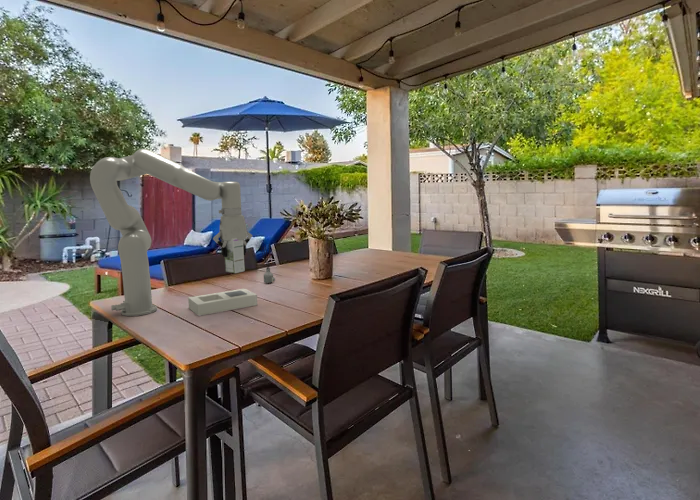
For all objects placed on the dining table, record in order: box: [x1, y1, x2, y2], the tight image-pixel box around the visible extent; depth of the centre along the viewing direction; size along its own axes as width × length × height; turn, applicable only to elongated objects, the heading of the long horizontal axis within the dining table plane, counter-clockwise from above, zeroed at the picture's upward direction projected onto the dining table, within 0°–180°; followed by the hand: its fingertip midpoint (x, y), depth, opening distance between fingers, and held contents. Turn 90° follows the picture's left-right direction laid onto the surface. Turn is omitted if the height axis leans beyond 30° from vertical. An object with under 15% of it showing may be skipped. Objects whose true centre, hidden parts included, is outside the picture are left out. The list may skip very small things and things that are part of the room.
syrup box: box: [224, 238, 245, 274], centre depth 170 cm, size 6×6×14 cm
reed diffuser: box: [259, 243, 276, 283], centre depth 211 cm, size 10×7×20 cm
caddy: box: [187, 288, 258, 317], centre depth 170 cm, size 24×13×5 cm, turn 126°
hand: (234, 255), depth 170 cm, fingers closed on syrup box, 7 cm apart
